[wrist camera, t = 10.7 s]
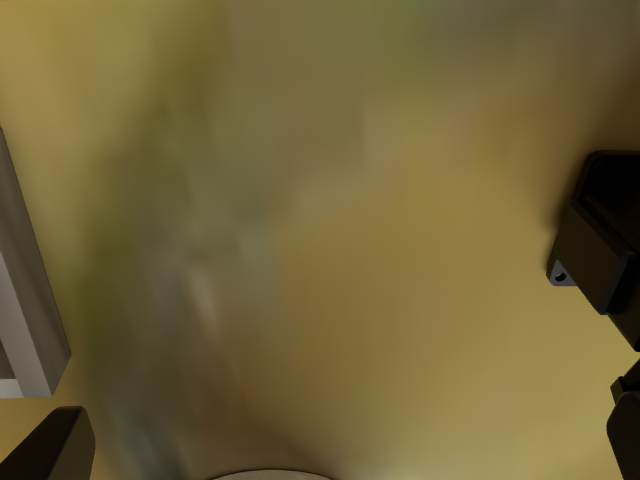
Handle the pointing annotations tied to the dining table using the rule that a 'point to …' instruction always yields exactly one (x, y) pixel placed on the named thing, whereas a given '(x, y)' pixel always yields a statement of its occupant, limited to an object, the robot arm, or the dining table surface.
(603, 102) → the dining table surface
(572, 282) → the robot arm
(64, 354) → the grey frame stand
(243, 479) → the utensil holder
